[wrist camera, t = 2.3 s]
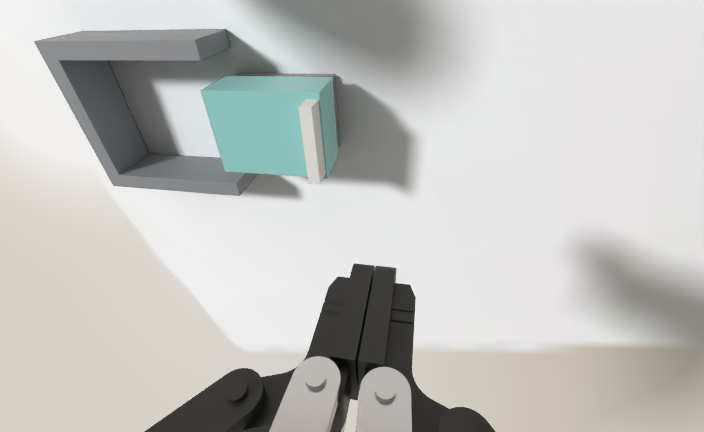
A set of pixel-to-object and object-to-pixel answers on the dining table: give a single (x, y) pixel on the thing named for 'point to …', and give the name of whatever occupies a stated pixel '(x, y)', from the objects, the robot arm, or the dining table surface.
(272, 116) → the teal box with handle
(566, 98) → the dining table surface
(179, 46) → the bay
